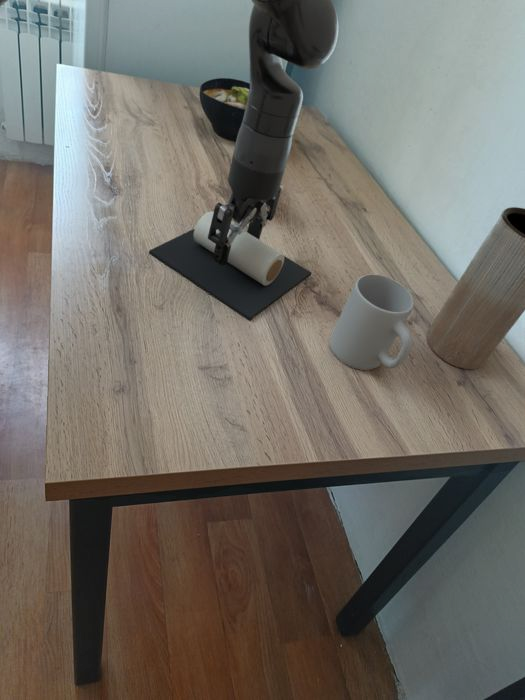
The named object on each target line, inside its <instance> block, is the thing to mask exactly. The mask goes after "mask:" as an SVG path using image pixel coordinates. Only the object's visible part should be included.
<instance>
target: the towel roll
mask: <svg viewBox="0 0 525 700" xmlns="http://www.w3.org/2000/svg"><path fill="white" fill-rule="evenodd" d="M213 214H214V210H212V211H211V210H210V211H207V212H205V213H204V214H203V215H202V216H201V217H200V219H199V220H198V221H197V223H196V225H195V227H194V229H195V230H194V240H195V241H196V242H197V243H198V244H200V245H202V246H203V247H205V248H206V249H208V250H209V251H211V252H213V253H214V250H215V246H216V244H215V243H214V242H212V241H210V240H209V239H208V234H209V230H210V226H211V222H212V218H213ZM231 224H232V225H234V226H237V225H236V224H235V223H233V222H231ZM217 231H218V230H217ZM217 231H216V233H217ZM230 233H231V229H229V232H228V235H227V237H228V236H229V235H230ZM284 256H285V255H284V253H281V252H280V251H279V250H277V249H276V248H274V247H272V246H270V245H269V244H267V243H266V242H264V241H263V240H260V239H257V238H256V237H254V236H252V235H251V234H249V233H247V230H245V229H244V230H243V231H242V233H241V234H239V235H236V237H235V239H234V240H233V242H232V244H231V248H230V252H229V256H228V260H227V262H228V263H230V264H231V265H233V266H234V267H236V268H238V269H239V270H241V271H242V272H244V273H245V274H247V275H248V276H250V277H252V278H253V279H255V280H256V281H258V282H259V283H261V284H263V285H264V286H266V285H269V284H270V283H271V282H272V281H273V280H274V279H275V278H276V277H277V275H278V274H279V272H280V270H281V268H282V266H283V263H284Z"/></svg>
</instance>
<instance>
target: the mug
mask: <svg viewBox="0 0 525 700" xmlns="http://www.w3.org/2000/svg"><path fill="white" fill-rule="evenodd" d="M414 301H415V300H414V297H413V295H412V294H411V292H410V291H409V290H408V289H407V288H406V287H405V286H404V285H403V284H401V283H400V282H399V281H397V280H395V279H393V278H391V277H390V276H385V275H383V274H379V273H378V274H377V273H368V274H363V275H361V276H360V277H359V278H357V280H356V281H355V282H354V285H353V287H352V290H351V291H350V293H349V296H348V298H347V300H346V302H345V304H344V306H343V309H342V311H341V313H340V315H339V318H338V319H337V322H336V323H335V325H334V327H333V330H332V332H331V333H330V336H329V341H328V342H329V349H330V350H331V352H332V354H333V355H334V356H335V357H336V358H337V359H338V360H339V362H341V363H343V364H344V365H346V366H348V367H350V368H353V369H355V370H360V371H372V370H374V369H377V368H378V367H380V366H381V365H383V366H384V367H386V368H387V369H390V370H392V369H393V370H394V369H397V368H398V367H400V366H401V365H402V364H403V363H404V362H405V361H406V359H407V358H408V356H409V354H410V352H411V350H412V347H413V337H412V336H413V335H412V334H411V331H409V329H408V328H407V326H406V325H405V323H406V322H407V320H408V318H409V317H410V315H411V313H412V311H413V309H414V305H415V302H414ZM397 338H399V340H400V342H401V345H400V349H399V352H398V354H397V356H396V357H394V358H393V357H392V356H391V354H390V353H389V352H390V349H391V347H392V346H393V344H394V342H395V341H396V339H397Z"/></svg>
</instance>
